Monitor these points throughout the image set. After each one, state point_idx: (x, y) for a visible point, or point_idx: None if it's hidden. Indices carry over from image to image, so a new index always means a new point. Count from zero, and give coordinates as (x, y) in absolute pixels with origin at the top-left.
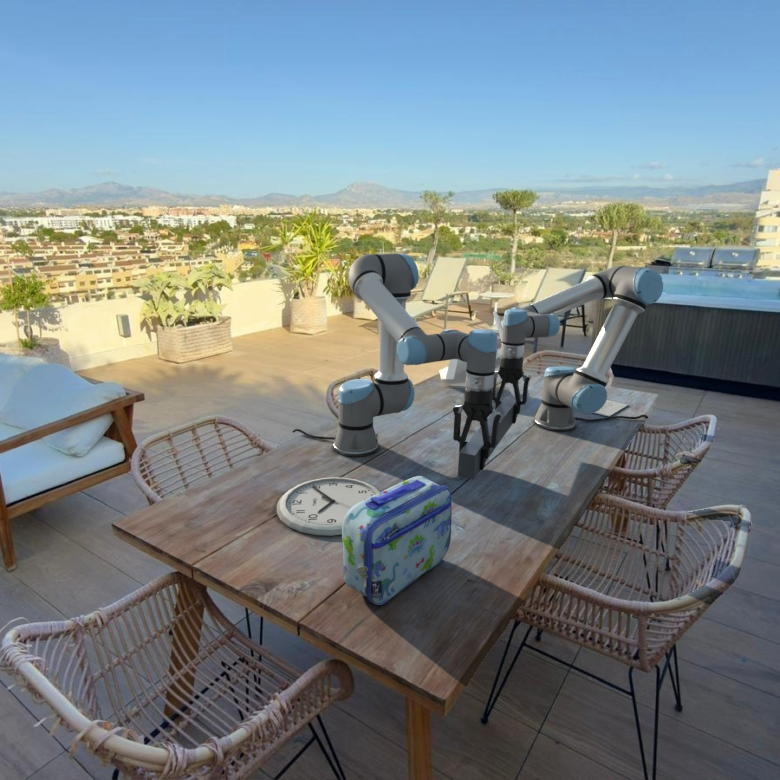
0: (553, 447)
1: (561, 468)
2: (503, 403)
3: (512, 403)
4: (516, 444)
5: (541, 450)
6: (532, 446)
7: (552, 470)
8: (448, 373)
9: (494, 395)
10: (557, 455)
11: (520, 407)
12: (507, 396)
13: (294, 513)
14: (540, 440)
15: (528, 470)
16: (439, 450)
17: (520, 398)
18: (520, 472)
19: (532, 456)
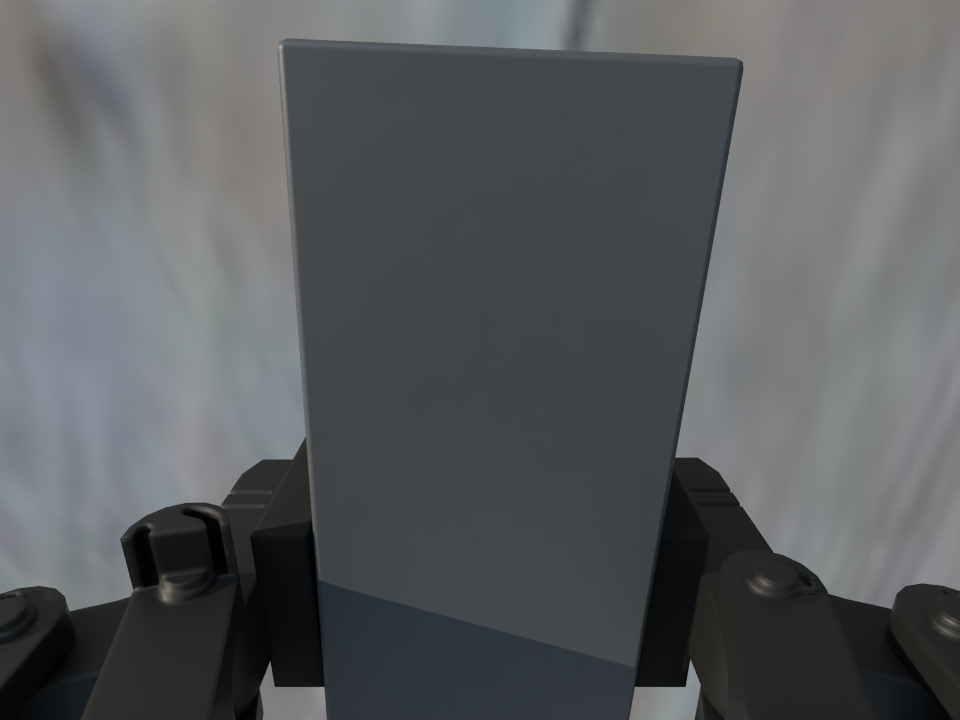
0: (939, 161)
1: (939, 547)
2: (390, 706)
3: (590, 636)
4: None
5: (814, 287)
6: (733, 228)
7: (870, 596)
8: None
9: (5, 699)
10: (947, 336)
11: (755, 535)
12: (317, 86)
13: None
14: (820, 14)
15: None
16: None
17: (857, 695)
18: (661, 690)
19: (734, 439)
